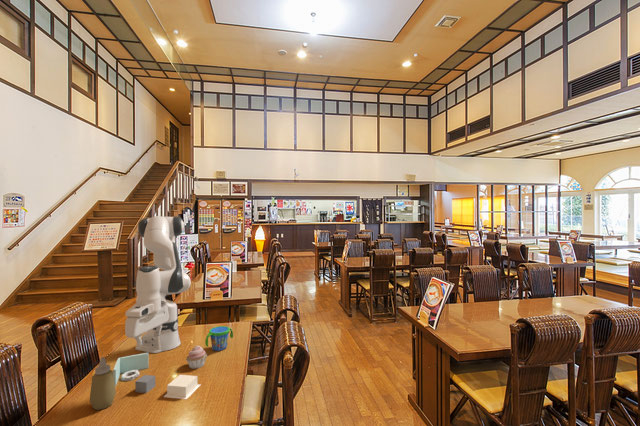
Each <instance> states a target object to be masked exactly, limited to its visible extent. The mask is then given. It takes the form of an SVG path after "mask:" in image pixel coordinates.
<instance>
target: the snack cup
mask: <svg viewBox="0 0 640 426" xmlns="http://www.w3.org/2000/svg"><path fill="white" fill-rule="evenodd" d="M229 337H230V339H233V337H234V330H233V328H230V327H229V326H225V325H221V326H220V325H218V326H214V327H212V328H210V329H209V331H208V333H207V335H206V336H205V340H204V341H205V342H204V345H205V346H206V347H209V339H210V342H211V348H212V350H213V351H215V352H216V351H217V352H219V351H223V350H225V349H227V346H228V342H229V341H228V340H229Z"/></svg>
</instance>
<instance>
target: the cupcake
mask: <svg viewBox="0 0 640 426" xmlns="http://www.w3.org/2000/svg"><path fill="white" fill-rule="evenodd" d="M207 357H208V353H206V351H205V350H204V348H203V347H202V346H200V345H195V346H193V348H192V349H191V350H190V351H189V352H188V356H186V362H187V363H188V366H189V368H190V369H193V370H197V369H199V368H203V367H204V366H205V362H206V359H207Z"/></svg>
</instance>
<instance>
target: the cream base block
mask: <svg viewBox="0 0 640 426" xmlns="http://www.w3.org/2000/svg"><path fill="white" fill-rule="evenodd" d="M197 384H198V375H190V374H189V375H188V374H179V375H178V376H176V377H175V378H174V379H173V380H172V381H171V382H169V383H168V384H167V385H166V394H167V396H177V397H187V396H188V395H189V394H190V393H191V392H192V391H193V390H194V389H195V388H196V387H197Z"/></svg>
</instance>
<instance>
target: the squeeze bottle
mask: <svg viewBox="0 0 640 426" xmlns="http://www.w3.org/2000/svg"><path fill="white" fill-rule="evenodd" d="M94 372H95V373H94V374H93V375H92V376H91V385H90V391H89V393H90V394H89V403H90V405H91V406H92V409H94V410H95V411H99V410H103V409H106V408H108V407H109V406H111V405H112V404H113V401H114V399H115V396H116V393H117V391H116V386H115V383H114V375H113V369H112V370H111V365H110V364H107V361H106V358H105V356H102V357H100V359H99V363H98V366H97V367H96V368H95V370H94Z"/></svg>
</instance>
